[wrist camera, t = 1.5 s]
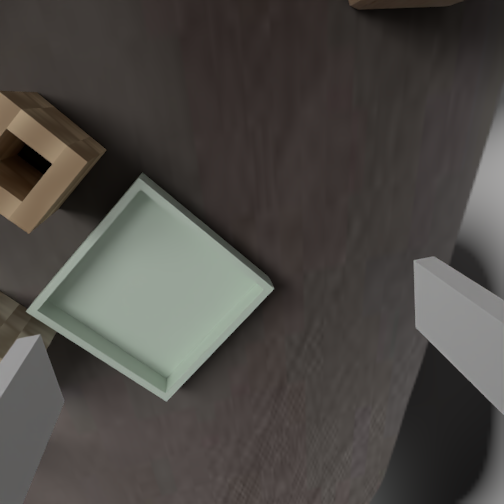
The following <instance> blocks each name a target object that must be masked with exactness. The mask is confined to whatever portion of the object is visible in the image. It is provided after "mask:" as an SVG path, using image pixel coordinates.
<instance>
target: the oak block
mask: <svg viewBox="0 0 504 504" xmlns="http://www.w3.org/2000/svg"><path fill="white" fill-rule="evenodd" d="M25 144H27V145H29V146H30V147H31V148H32V149H34V150H35V151H36V152H38V153H39V154H40V155H41V156H43V157H44V158H45V159H47V160H48V161H49V162H51V163H52V165H51V166H50V168H49V169H48V170H47V171H46V173H45V174H44V175H43V174H42V173H41V172H39V171H38V170H37V169H35V168H34V167H33V166H31V165H30V164H29V163H28V162H26V161H25V160H24V159H22V158H21V157H20V156H18V155H17V154H18V153H19V152H20V151H21V149H22V148H23V147H24V145H25ZM105 152H106V149H105V148H104V147H103V146H101V145H100V144H99V143H98V142H96V141H95V140H94V139H93V138H92V137H90V136H89V135H88V134H87V133H85V132H84V131H83V130H82V129H81V128H79V127H78V126H77V125H76V124H75V123H73V122H72V121H71V120H70V119H68V118H67V117H66V116H65V115H64V114H62V113H61V112H60V111H59V110H57V109H56V108H55V107H54V106H53V105H51V104H50V103H49V102H48V101H47V100H45V99H44V98H43V97H42V96H40V95H39V94H38V93H37V92H14V91H0V214H1V215H3V216H4V217H6V218H7V219H9V220H10V221H11V222H13V223H14V224H16V225H17V226H18V227H20V228H21V229H23V230H24V231H26V232H27V233H28V234H29V233H31V232H32V231H33V230H34V229H35V228H36V227H38V226H39V225H40V224H41V223H42V222H44V221H45V220H46V219H47V218H48V217H49V216H51V215H52V214H53V213H54V212H55V211H56V210H58V209H59V208H60V206H61V205H62V204H63V203H64V201H65V200H66V199H67V198H68V197H69V195H70V194H71V193H72V192H73V190H74V189H75V188H76V187H77V186H78V184H79V183H80V182H81V181H82V180H83V178H84V177H85V176H86V175H87V173H88V172H89V171H90V170H91V169H92V167H93V166H94V165H95V164H96V162H97V161H98V160H99V159H100V158H101V156H102V155H103V154H104V153H105Z"/></svg>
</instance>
